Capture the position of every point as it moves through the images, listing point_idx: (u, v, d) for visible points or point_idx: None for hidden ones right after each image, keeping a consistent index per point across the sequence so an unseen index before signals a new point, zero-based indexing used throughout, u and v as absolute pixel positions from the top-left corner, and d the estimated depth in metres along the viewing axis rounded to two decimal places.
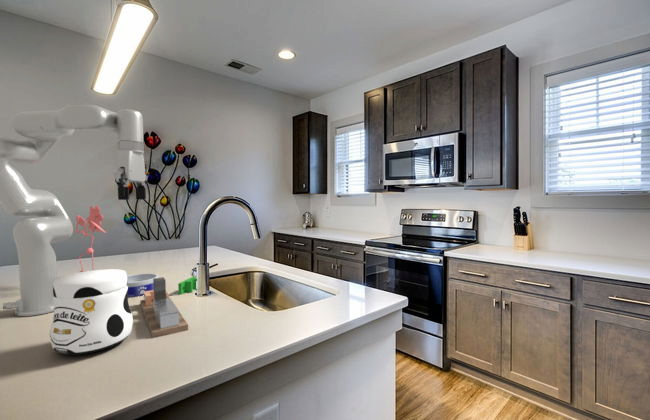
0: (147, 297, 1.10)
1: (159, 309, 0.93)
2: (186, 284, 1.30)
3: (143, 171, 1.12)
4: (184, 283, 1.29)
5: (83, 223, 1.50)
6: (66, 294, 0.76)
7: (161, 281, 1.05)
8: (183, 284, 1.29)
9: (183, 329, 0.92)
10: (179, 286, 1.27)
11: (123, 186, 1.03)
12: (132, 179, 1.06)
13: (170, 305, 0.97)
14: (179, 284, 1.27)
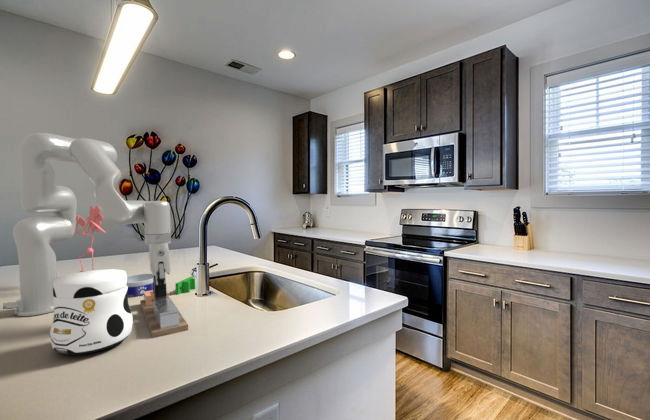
0: (147, 297, 1.10)
1: (159, 309, 0.93)
2: (183, 284, 1.30)
3: (152, 264, 1.02)
4: (181, 283, 1.29)
5: (83, 223, 1.50)
6: (66, 294, 0.76)
7: None
8: (180, 284, 1.29)
9: (183, 329, 0.92)
10: (176, 286, 1.27)
11: None
12: None
13: (170, 305, 0.97)
14: (176, 284, 1.27)
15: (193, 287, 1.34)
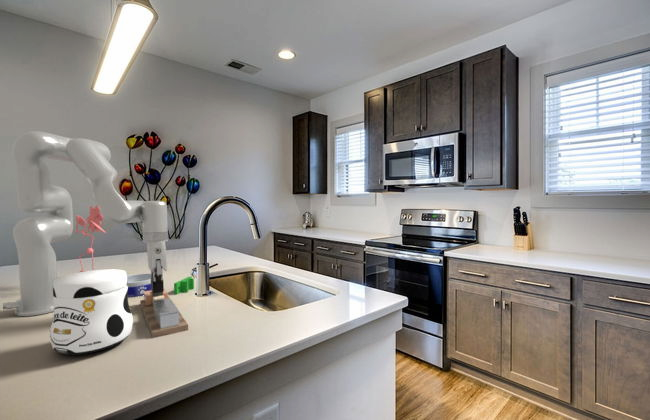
0: (147, 297, 1.10)
1: (159, 309, 0.93)
2: (182, 284, 1.30)
3: (149, 261, 1.07)
4: (180, 283, 1.30)
5: (83, 223, 1.50)
6: (66, 294, 0.76)
7: None
8: (179, 284, 1.29)
9: (183, 329, 0.92)
10: (175, 286, 1.27)
11: None
12: None
13: (170, 305, 0.97)
14: (174, 284, 1.27)
15: (192, 287, 1.34)
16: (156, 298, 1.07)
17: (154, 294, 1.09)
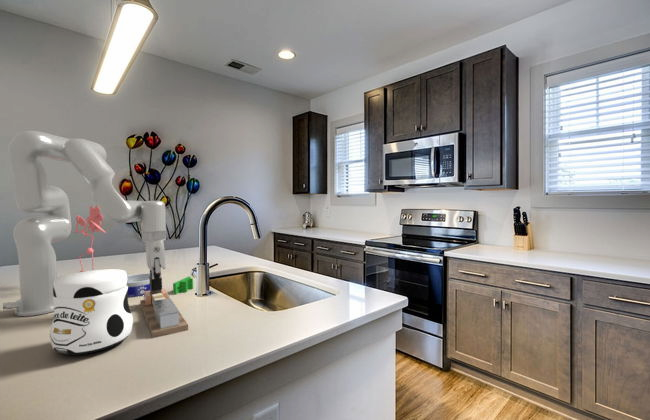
0: (147, 297, 1.10)
1: (159, 309, 0.93)
2: (181, 284, 1.30)
3: (148, 259, 1.10)
4: (179, 283, 1.30)
5: (83, 223, 1.50)
6: (66, 294, 0.76)
7: None
8: (178, 284, 1.29)
9: (183, 329, 0.92)
10: (174, 286, 1.27)
11: None
12: (147, 265, 1.15)
13: (170, 305, 0.97)
14: (173, 284, 1.27)
15: (191, 287, 1.34)
16: (155, 295, 1.10)
17: (153, 292, 1.12)
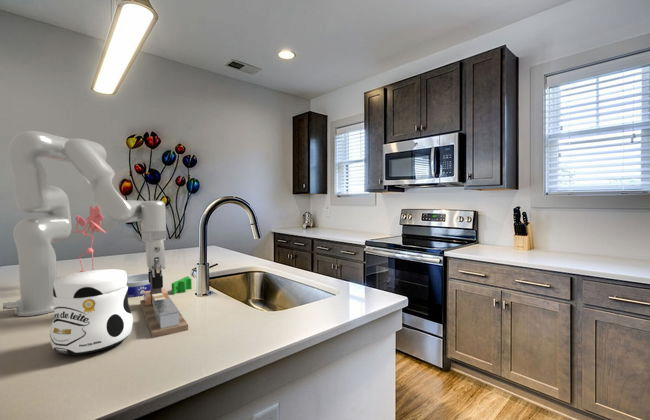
0: (147, 297, 1.10)
1: (159, 309, 0.93)
2: (179, 284, 1.30)
3: (148, 259, 1.10)
4: (177, 283, 1.30)
5: (83, 223, 1.50)
6: (66, 294, 0.76)
7: None
8: (176, 284, 1.29)
9: (183, 329, 0.92)
10: (172, 286, 1.27)
11: None
12: (147, 265, 1.15)
13: (170, 305, 0.97)
14: (172, 284, 1.27)
15: (189, 287, 1.34)
16: (155, 295, 1.10)
17: (153, 292, 1.11)
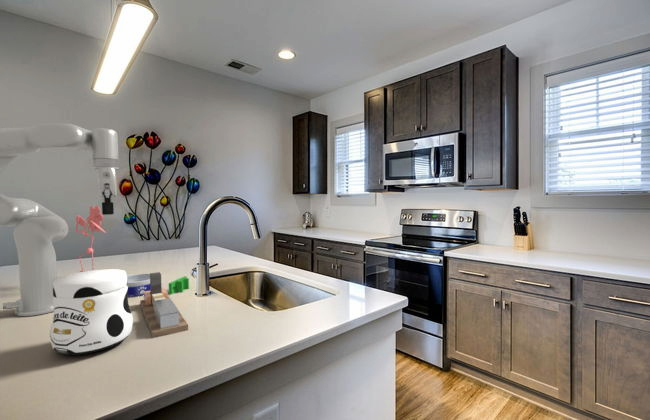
0: (147, 297, 1.10)
1: (159, 309, 0.93)
2: (177, 284, 1.30)
3: (98, 186, 1.10)
4: (175, 283, 1.30)
5: (83, 223, 1.50)
6: (66, 294, 0.76)
7: (157, 275, 1.12)
8: (173, 284, 1.29)
9: (183, 329, 0.92)
10: (169, 286, 1.28)
11: None
12: None
13: (170, 305, 0.97)
14: (169, 284, 1.28)
15: (187, 287, 1.35)
16: (155, 295, 1.10)
17: (153, 292, 1.11)
